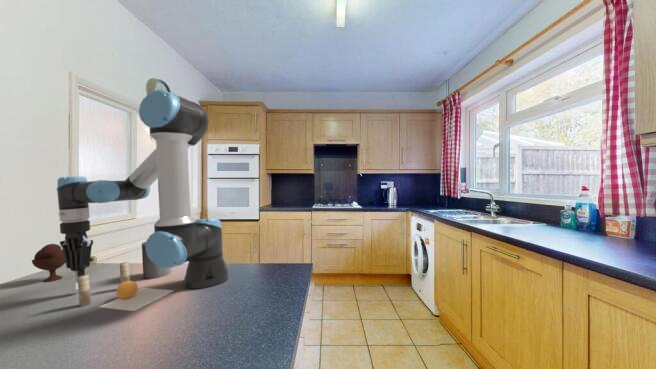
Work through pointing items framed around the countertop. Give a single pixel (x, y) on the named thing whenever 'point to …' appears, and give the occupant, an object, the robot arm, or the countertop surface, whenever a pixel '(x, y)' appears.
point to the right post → (124, 272)
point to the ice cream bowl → (50, 260)
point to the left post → (84, 290)
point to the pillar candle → (152, 266)
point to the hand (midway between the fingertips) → (79, 288)
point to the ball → (126, 289)
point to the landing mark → (137, 299)
